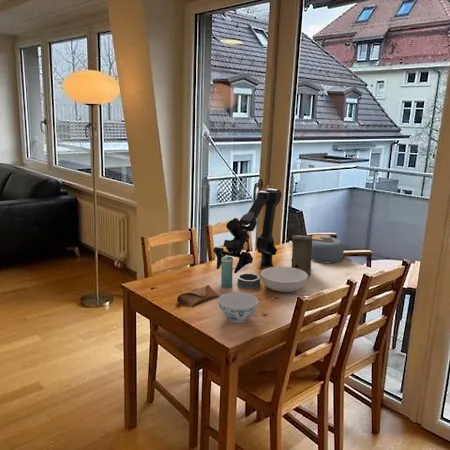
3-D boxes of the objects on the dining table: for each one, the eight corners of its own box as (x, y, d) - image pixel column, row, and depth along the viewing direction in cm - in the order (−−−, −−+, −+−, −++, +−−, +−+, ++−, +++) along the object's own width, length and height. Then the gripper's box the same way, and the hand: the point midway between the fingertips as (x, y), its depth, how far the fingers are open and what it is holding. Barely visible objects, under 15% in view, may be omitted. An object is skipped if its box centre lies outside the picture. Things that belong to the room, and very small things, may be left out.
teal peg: (221, 283, 208) (221, 256, 205) (232, 283, 208) (233, 256, 205) (220, 287, 203) (221, 259, 200) (232, 287, 203) (232, 260, 200)
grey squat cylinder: (323, 250, 260) (324, 229, 257) (350, 259, 244) (352, 238, 241) (298, 255, 250) (299, 234, 247) (325, 265, 234) (327, 243, 231)
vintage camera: (308, 266, 233) (309, 229, 229) (311, 276, 218) (312, 236, 214) (289, 266, 234) (290, 228, 230) (290, 275, 219) (292, 235, 215)
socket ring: (237, 279, 213) (237, 272, 212) (259, 280, 212) (259, 273, 212) (237, 288, 203) (237, 280, 202) (260, 288, 202) (260, 281, 202)
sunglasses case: (190, 308, 181) (185, 292, 182) (180, 311, 186) (175, 296, 187) (221, 295, 194) (216, 281, 195) (211, 299, 199) (206, 285, 200)
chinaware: (233, 331, 163) (234, 312, 161) (210, 316, 174) (210, 298, 172) (265, 321, 171) (266, 302, 169) (241, 307, 183) (241, 289, 181)
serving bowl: (313, 285, 207) (314, 271, 206) (296, 301, 190) (297, 285, 188) (272, 276, 218) (272, 263, 216) (252, 290, 200) (252, 276, 198)
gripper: (215, 229, 208) (201, 258, 202) (250, 235, 199) (237, 266, 193) (223, 242, 217) (211, 270, 210) (258, 248, 207) (246, 278, 201)
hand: (225, 270), depth 203 cm, fingers open, 9 cm apart
